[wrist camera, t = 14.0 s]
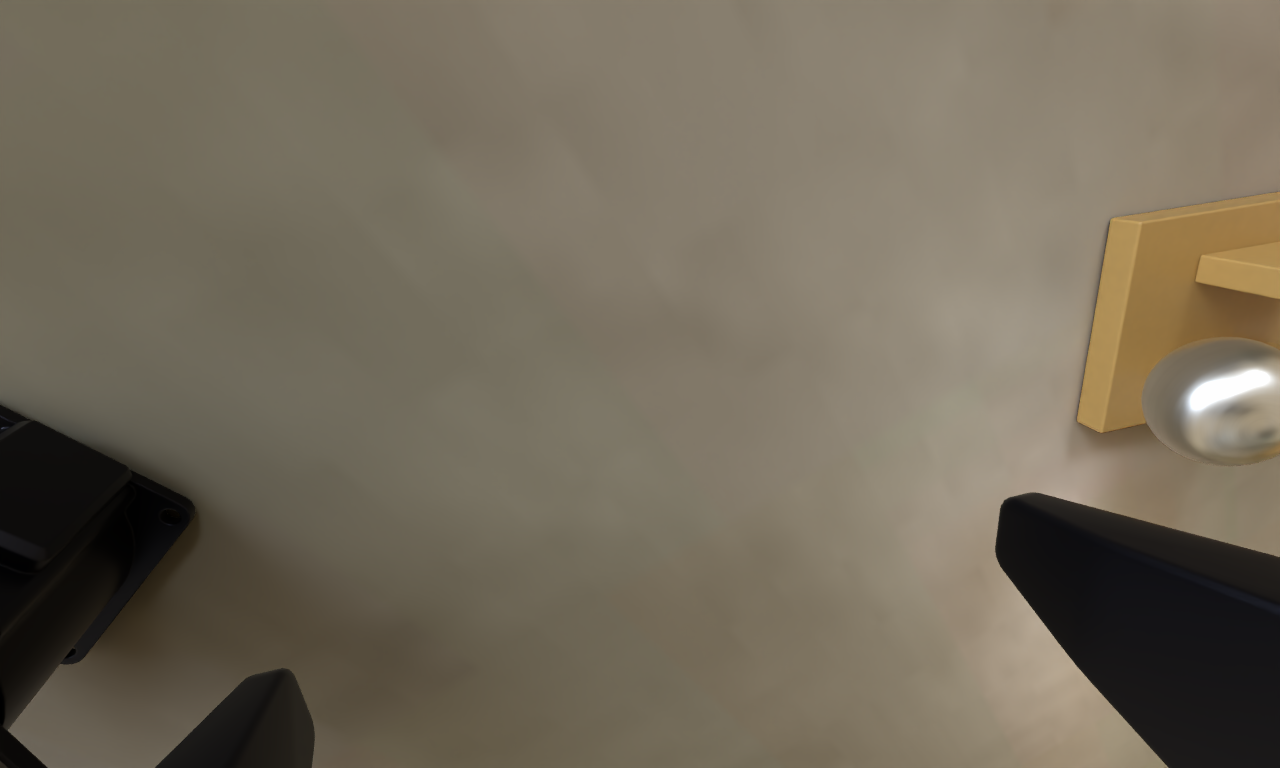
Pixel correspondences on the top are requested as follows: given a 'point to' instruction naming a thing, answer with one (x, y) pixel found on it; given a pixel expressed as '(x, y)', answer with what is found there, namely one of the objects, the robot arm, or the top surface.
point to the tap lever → (1217, 401)
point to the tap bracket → (1178, 295)
